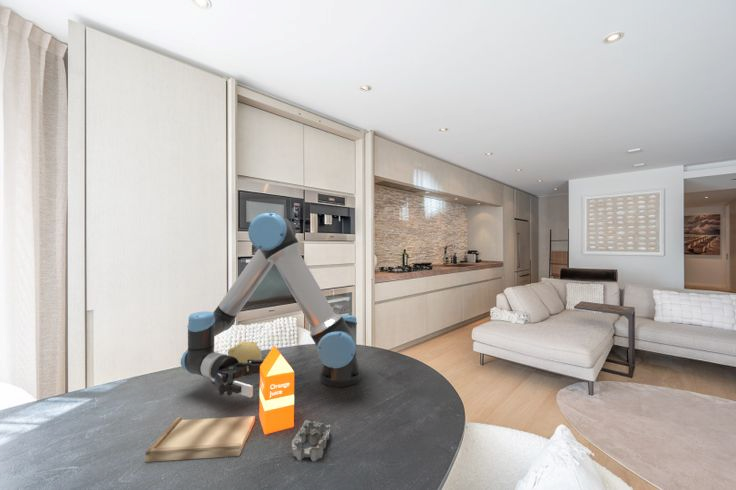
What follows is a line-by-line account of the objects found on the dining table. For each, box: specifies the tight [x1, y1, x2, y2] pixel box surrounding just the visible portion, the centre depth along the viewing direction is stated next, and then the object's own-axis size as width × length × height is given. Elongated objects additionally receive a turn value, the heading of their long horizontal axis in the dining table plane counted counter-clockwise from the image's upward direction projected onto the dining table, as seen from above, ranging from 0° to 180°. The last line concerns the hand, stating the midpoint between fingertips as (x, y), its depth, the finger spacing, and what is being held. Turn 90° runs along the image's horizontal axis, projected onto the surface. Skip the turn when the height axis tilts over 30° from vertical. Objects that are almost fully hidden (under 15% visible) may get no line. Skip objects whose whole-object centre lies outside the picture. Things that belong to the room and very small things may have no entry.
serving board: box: [145, 415, 256, 463], centre depth 76 cm, size 20×14×2 cm
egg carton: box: [291, 419, 331, 462], centre depth 74 cm, size 11×8×4 cm
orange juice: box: [258, 344, 295, 435], centre depth 84 cm, size 8×9×20 cm
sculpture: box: [227, 341, 263, 372], centre depth 120 cm, size 12×12×11 cm
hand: (271, 381), depth 84 cm, fingers open, 13 cm apart
